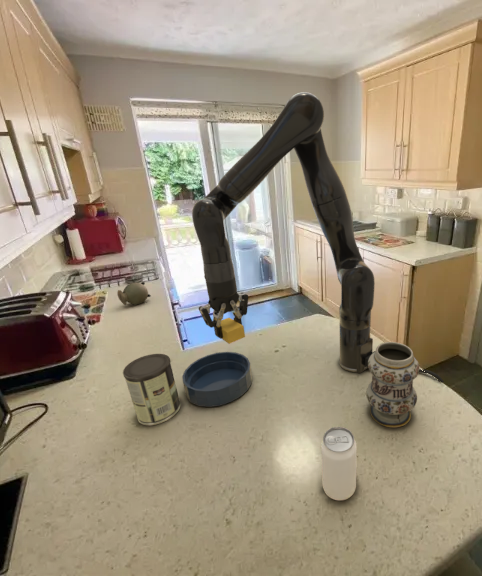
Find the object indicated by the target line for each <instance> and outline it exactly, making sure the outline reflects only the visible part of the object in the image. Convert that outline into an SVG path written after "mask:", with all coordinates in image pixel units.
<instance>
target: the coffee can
mask: <svg viewBox="0 0 482 576" xmlns="http://www.w3.org/2000/svg"><path fill="white" fill-rule="evenodd" d="M122 375H123V378H124V379H125V382H126V386H127V388H128V392H129V395H130V399H131V402H132V404H133V408H134V410H135V414H136V419H137V421H138V423H139V424H141V425H143V426H156V425H160V424H163V423H165V422H167V421H169V420H170V419H172V418H173V417H175V415H177V413H178V412H179V411H180V408H181V405H182V404H181V400H180V396H179V393H178V388H177V385H176V380H175V377H174V372H173V368H172V363H171V358H170V356H169V355H167V354H164V353H152V354H151V353H150V354H147V355H143V356H140V357H138V358H136V359H134V360H132V361H130V362H129V363H128V364H127V365H126V366H124V368H123V370H122Z"/></svg>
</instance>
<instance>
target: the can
mask: <svg viewBox="0 0 482 576" xmlns="http://www.w3.org/2000/svg"><path fill="white" fill-rule="evenodd" d="M320 454H321V455H320V457H321V482H322V483H321V484H322V488H323V492H324V493H325V494H326V496H327V497H329V498H330V499H332V500H335V501H345V500H348V499H349V498H351V497H352V496H353V495H354V493H355V492H356V489H357V488H356V487H357V442H356V440H355V436H354V433H353V432H352V431H351V430H350V429H348V428H347V427H344V426H332V427H330V428H328V429H327V430H326V431H325V432H324V434H323V436H322V440H321V444H320Z"/></svg>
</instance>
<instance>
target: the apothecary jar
mask: <svg viewBox="0 0 482 576" xmlns="http://www.w3.org/2000/svg"><path fill="white" fill-rule="evenodd" d="M374 351H375V352H374ZM374 351H373V352H374V353H373V354H372V355H371V356H370V358H369V360H368V368H367V369H368V370H369V372H370V373H371V375H372V376H371V377H372V378H371V381H370V382H369V383H368V385H367V387H366V389H365V396H366V399H367V401H368V403H369V404H370V405H371V406H370V410H369V413H370V416H371V417H372V420H374V421H375V422H376V423H377V424H379V425H381V426H383V427H386V428H401V427H404V426H405V425H407V424H408V423H409V422H410V420H411V419H412V413H411V411H412V410H414V408H415V406H416V405H417V402H418V394H417V391H416V389H415V388H414V386H413V385H414V380H415V379H416V378H417V377H418V376H419V374H420V372H419V369H421V368H420V363H419V361H418V359H416V358H417V357H415V356H414V352H413V350H412V348H410V347H409V346H408V345H406V344H404V343H401V342H397V341H385V342H382V343H380V344H378V345H377V346H376V349H375V350H374Z"/></svg>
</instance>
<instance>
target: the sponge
mask: <svg viewBox="0 0 482 576" xmlns="http://www.w3.org/2000/svg"><path fill="white" fill-rule="evenodd" d="M221 326H222V334H223V338H222V339H221V340H223V341H224V342H226V343H227V344H228V345H230V344H232V343H235V342H237V341H239V340H241V339H244V338H245V337H246V333H245V327H244V325H243V324H242V325H241V324H240V323H238V322H236V321H234V318H230V317H226V318H223V319H222V321H221Z"/></svg>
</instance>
